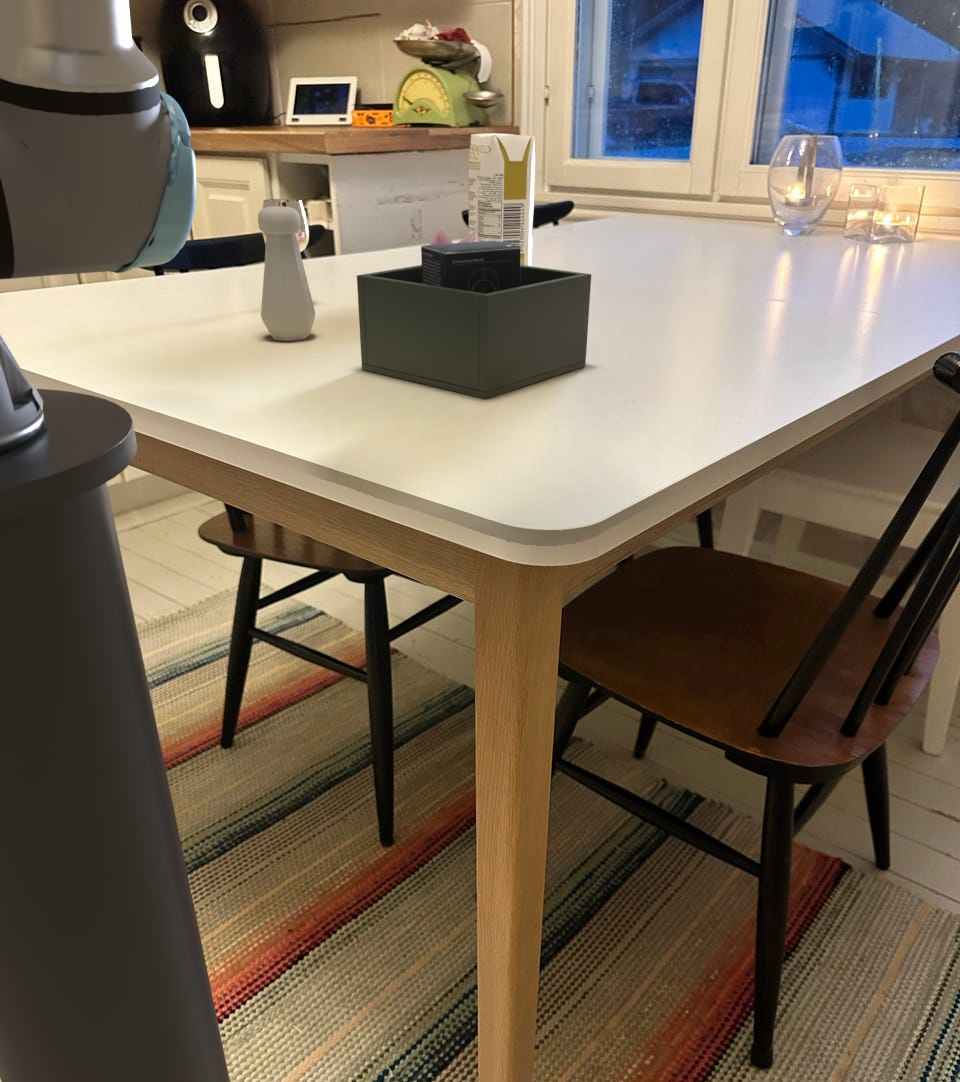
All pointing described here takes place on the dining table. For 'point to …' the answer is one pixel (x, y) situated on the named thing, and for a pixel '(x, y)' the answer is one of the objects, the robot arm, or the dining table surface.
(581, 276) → the open storage bin
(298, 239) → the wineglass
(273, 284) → the salt shaker
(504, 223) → the juice carton
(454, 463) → the dining table surface
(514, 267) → the box
